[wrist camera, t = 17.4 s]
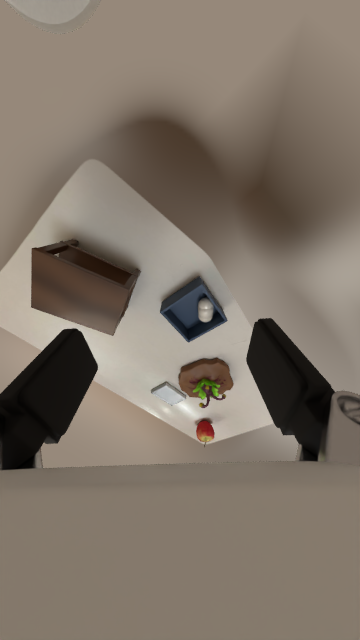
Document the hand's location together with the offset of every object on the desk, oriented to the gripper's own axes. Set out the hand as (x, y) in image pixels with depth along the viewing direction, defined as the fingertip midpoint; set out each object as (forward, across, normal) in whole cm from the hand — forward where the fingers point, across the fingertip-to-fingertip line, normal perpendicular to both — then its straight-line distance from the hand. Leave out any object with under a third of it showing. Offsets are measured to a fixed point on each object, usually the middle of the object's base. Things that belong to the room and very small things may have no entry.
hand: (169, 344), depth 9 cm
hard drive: (+34, +7, +56) cm, 66 cm away
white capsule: (+31, -5, +16) cm, 35 cm away
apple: (+34, -8, +82) cm, 89 cm away
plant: (+34, -8, +47) cm, 58 cm away
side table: (+33, +19, +6) cm, 39 cm away
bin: (+33, -4, +16) cm, 37 cm away
